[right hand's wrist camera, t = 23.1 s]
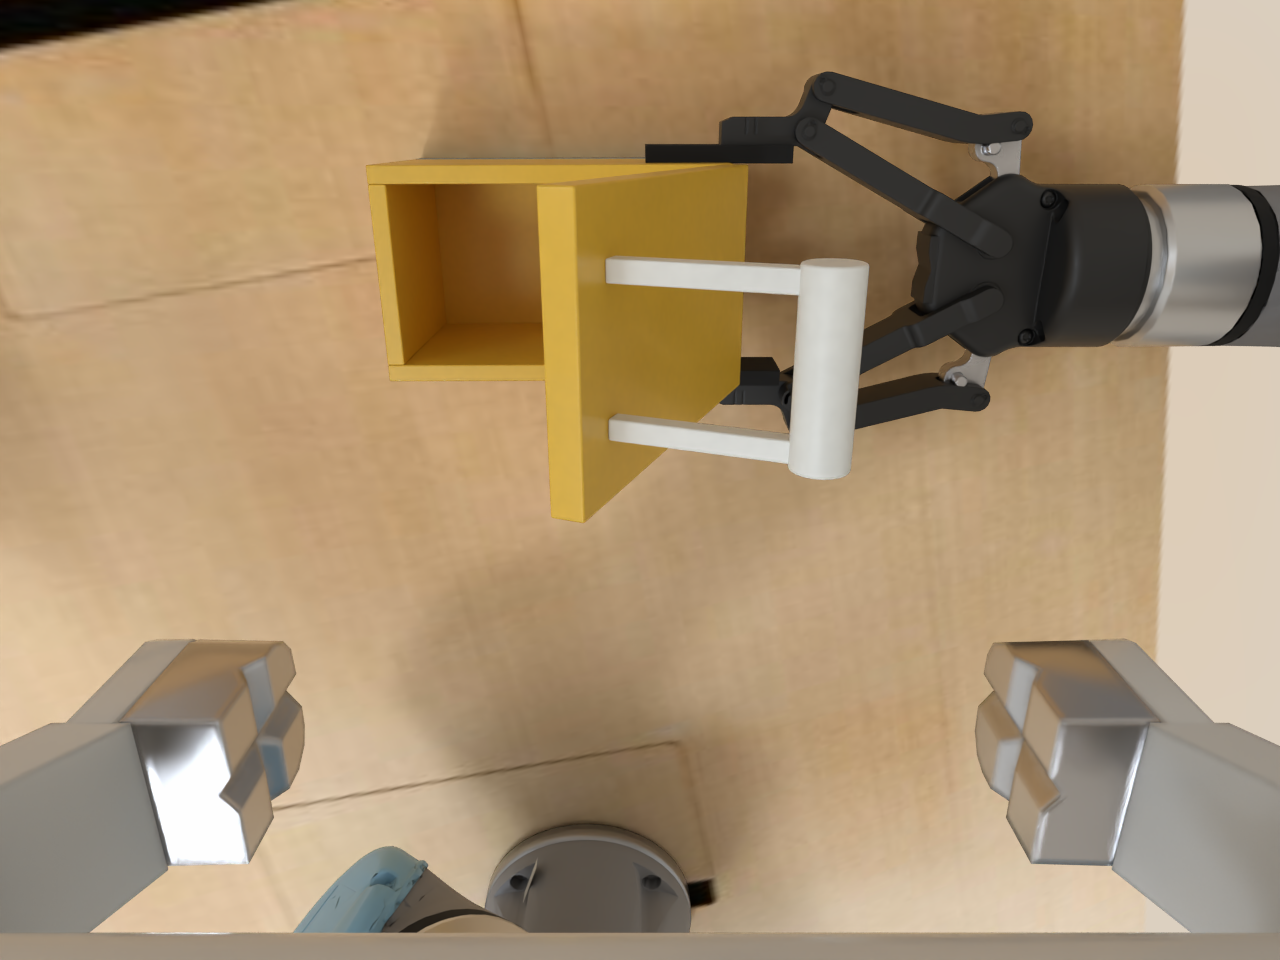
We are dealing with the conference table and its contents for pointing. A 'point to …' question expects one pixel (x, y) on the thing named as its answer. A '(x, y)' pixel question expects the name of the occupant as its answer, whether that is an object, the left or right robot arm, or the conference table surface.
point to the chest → (469, 261)
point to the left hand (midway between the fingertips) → (645, 267)
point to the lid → (678, 332)
